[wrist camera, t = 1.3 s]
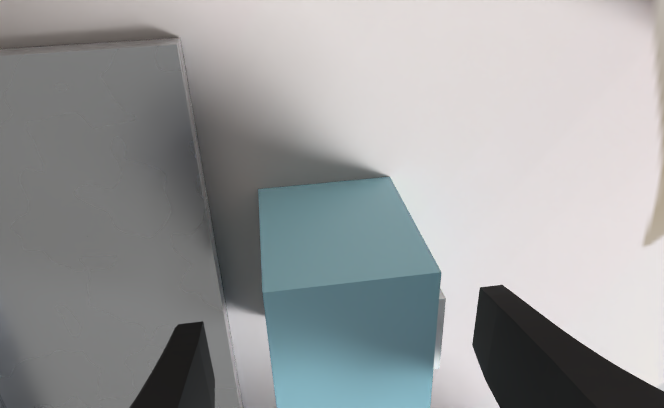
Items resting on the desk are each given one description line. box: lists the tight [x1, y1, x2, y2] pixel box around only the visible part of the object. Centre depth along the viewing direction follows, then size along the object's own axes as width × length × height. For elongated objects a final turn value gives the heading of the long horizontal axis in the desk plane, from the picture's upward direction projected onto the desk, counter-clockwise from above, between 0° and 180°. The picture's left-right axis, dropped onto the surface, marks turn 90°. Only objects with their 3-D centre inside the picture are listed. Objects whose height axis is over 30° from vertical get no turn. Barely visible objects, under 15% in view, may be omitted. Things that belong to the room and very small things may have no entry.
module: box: [258, 177, 446, 408], centre depth 15 cm, size 5×4×5 cm
